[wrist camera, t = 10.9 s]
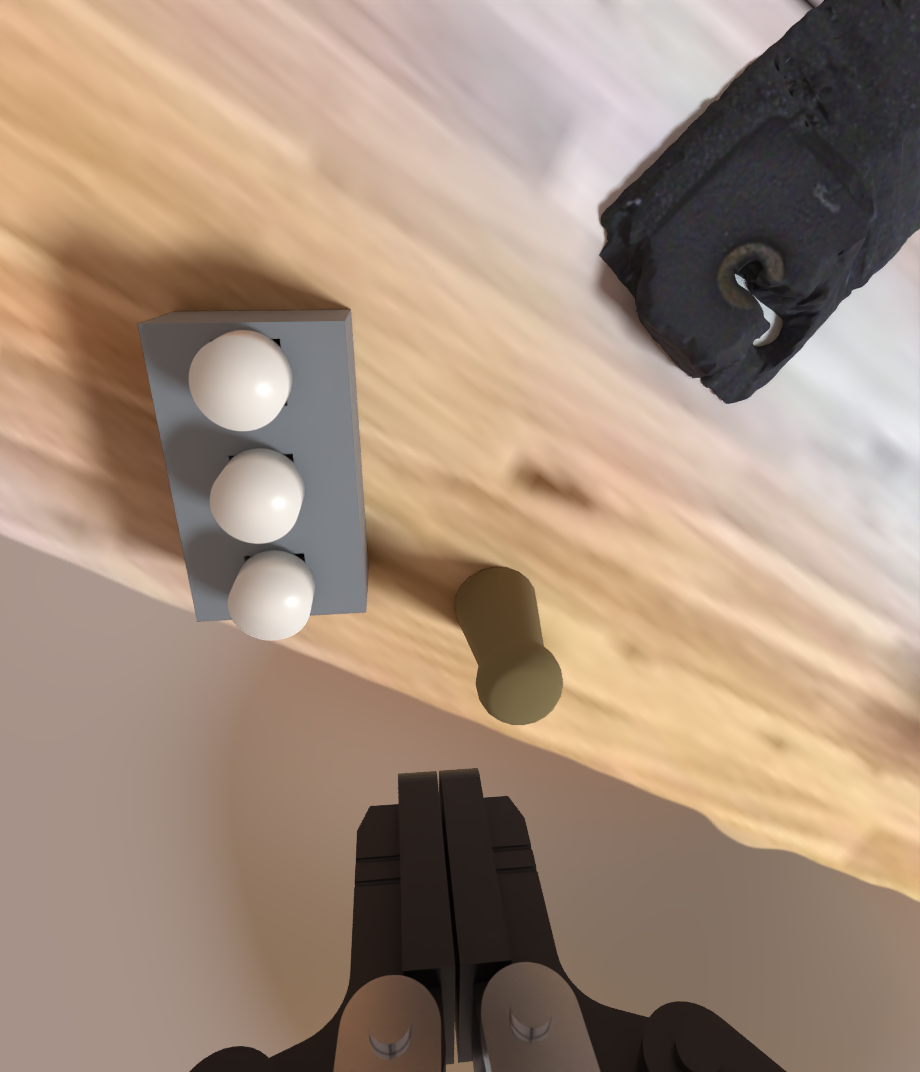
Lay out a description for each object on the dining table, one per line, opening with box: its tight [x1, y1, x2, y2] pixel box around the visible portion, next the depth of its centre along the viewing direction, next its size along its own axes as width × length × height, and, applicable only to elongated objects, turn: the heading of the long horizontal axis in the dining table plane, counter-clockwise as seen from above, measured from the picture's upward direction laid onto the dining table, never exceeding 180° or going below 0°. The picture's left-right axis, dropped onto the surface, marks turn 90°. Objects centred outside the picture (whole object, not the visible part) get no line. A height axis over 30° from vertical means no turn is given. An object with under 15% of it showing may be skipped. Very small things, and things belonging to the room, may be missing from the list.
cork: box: [454, 567, 563, 725], centre depth 42 cm, size 6×6×11 cm
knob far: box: [228, 550, 315, 641], centre depth 39 cm, size 4×4×8 cm
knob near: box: [189, 330, 293, 431], centre depth 34 cm, size 4×4×8 cm
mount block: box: [138, 309, 368, 622], centre depth 38 cm, size 17×10×6 cm, turn 0°
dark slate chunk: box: [599, 0, 920, 404], centre depth 36 cm, size 15×22×5 cm
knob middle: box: [210, 448, 305, 544], centre depth 37 cm, size 4×4×8 cm
